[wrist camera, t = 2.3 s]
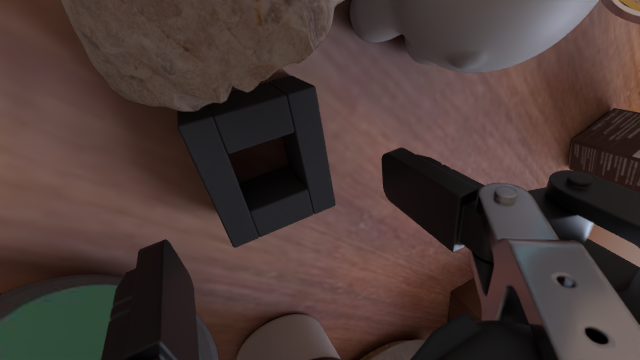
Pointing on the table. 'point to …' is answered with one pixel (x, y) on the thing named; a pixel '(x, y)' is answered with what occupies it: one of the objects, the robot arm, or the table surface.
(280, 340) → the coffee cup
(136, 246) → the table surface
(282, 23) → the stone
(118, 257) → the table surface
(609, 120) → the box
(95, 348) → the headphones
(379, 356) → the planter
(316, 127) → the top pad
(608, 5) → the ring
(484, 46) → the chubby cartoon animal
